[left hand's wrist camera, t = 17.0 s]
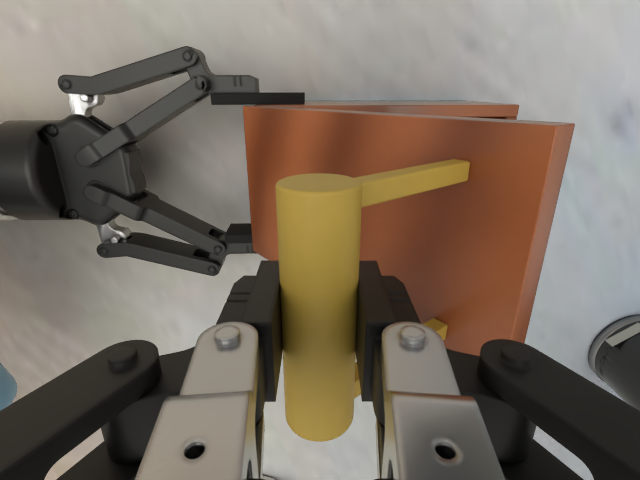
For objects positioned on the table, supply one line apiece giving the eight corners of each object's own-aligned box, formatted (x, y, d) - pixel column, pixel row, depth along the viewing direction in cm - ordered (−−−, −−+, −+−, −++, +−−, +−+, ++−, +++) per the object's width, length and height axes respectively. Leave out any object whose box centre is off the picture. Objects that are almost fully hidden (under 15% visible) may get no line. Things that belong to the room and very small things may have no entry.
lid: (575, 123, 11) (373, 150, 6) (515, 383, 15) (355, 534, 10) (260, 105, 25) (112, 109, 20) (268, 246, 28) (145, 281, 23)
